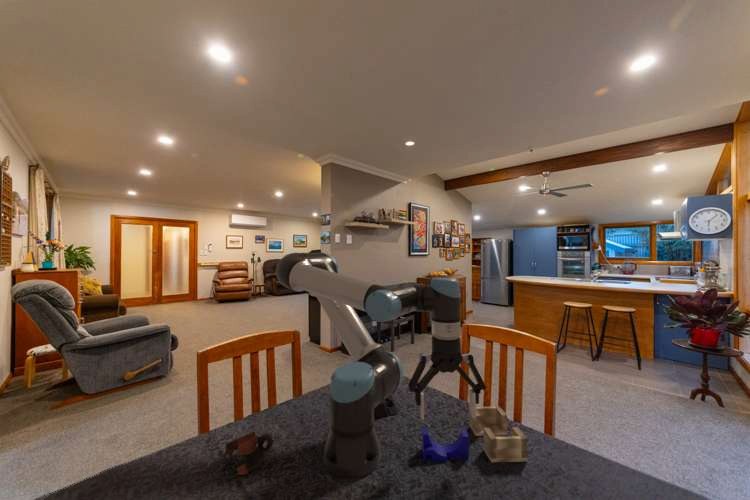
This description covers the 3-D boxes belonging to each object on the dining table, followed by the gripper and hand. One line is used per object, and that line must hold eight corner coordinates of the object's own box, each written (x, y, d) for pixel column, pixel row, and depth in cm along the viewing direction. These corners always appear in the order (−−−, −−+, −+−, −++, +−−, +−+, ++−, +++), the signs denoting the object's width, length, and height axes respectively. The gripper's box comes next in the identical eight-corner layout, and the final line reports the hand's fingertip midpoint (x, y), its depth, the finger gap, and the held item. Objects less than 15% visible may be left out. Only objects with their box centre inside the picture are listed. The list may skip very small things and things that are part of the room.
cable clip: (423, 460, 78) (423, 438, 78) (422, 449, 82) (422, 427, 82) (470, 463, 77) (470, 440, 77) (466, 451, 81) (466, 429, 81)
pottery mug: (225, 485, 70) (218, 448, 73) (232, 477, 78) (225, 443, 81) (277, 458, 75) (268, 424, 78) (278, 453, 83) (270, 422, 86)
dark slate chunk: (391, 387, 120) (391, 376, 120) (398, 418, 98) (398, 404, 98) (354, 388, 120) (354, 377, 120) (352, 419, 98) (352, 405, 98)
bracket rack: (491, 462, 77) (491, 439, 77) (469, 426, 93) (469, 406, 93) (527, 461, 77) (527, 438, 77) (499, 425, 93) (499, 406, 93)
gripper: (401, 341, 75) (402, 425, 75) (498, 339, 75) (500, 422, 75) (397, 333, 82) (399, 409, 82) (486, 331, 83) (487, 407, 83)
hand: (447, 416), depth 79 cm, fingers open, 13 cm apart
